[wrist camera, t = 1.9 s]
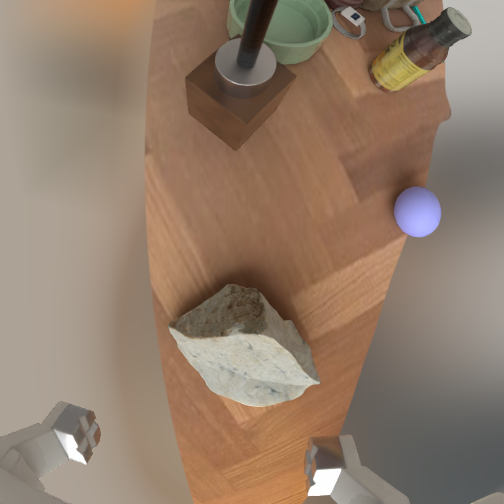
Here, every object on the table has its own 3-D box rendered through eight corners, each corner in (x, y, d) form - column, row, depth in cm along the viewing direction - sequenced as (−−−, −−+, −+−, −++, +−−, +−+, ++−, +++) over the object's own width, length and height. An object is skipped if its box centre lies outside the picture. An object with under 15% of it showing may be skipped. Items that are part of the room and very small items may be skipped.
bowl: (205, 29, 35) (207, 6, 30) (267, -12, 36) (274, -33, 31) (282, 83, 38) (293, 65, 32) (336, 36, 38) (350, 18, 33)
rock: (209, 410, 39) (223, 369, 46) (321, 402, 33) (324, 354, 40) (147, 333, 33) (173, 292, 40) (279, 308, 27) (288, 263, 34)
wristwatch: (322, 22, 38) (333, 5, 33) (331, 16, 38) (342, -1, 33) (352, 46, 39) (366, 31, 34) (360, 39, 39) (374, 24, 34)
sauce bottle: (385, 58, 40) (459, -1, 20) (405, 90, 41) (487, 41, 21) (358, 65, 39) (431, -3, 19) (378, 99, 40) (464, 43, 20)
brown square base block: (188, 113, 36) (184, 77, 26) (229, 74, 36) (238, 33, 27) (235, 151, 37) (246, 125, 27) (275, 109, 38) (297, 76, 28)
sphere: (412, 235, 43) (443, 246, 36) (379, 226, 41) (411, 237, 34) (422, 191, 41) (454, 196, 35) (389, 178, 40) (423, 182, 33)
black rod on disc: (201, 76, 26) (207, -43, 11) (239, 44, 27) (269, -70, 11) (245, 109, 27) (287, 1, 11) (281, 75, 28) (341, -30, 12)
